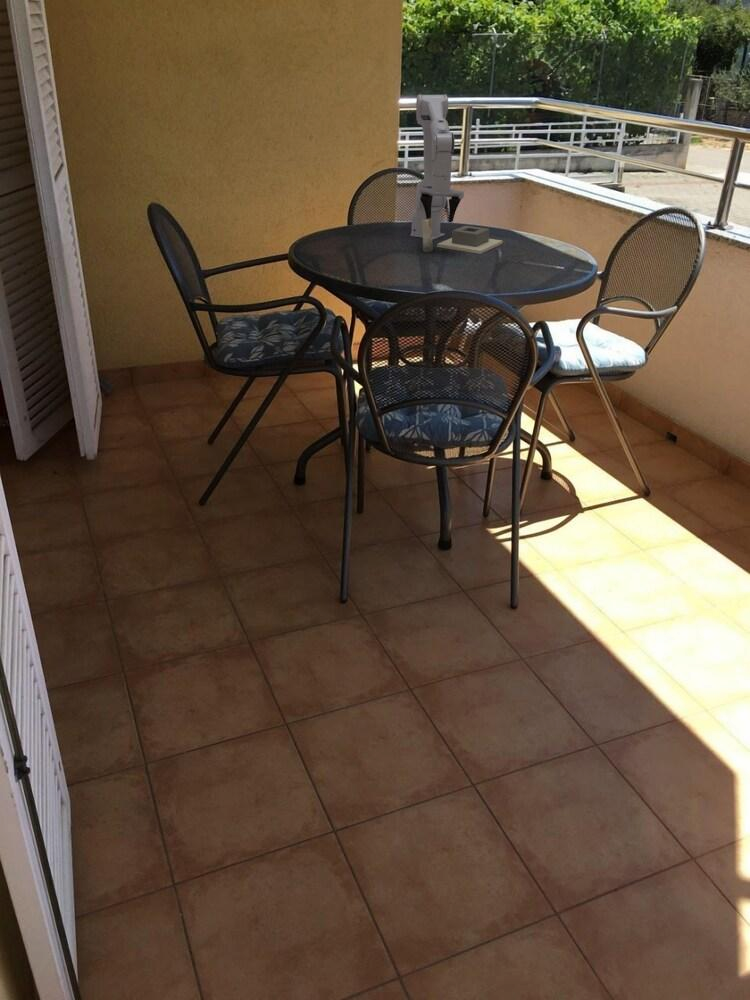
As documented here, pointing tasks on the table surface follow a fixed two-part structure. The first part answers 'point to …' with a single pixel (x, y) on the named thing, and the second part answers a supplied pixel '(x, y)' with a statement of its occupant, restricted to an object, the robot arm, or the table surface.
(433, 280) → the table surface
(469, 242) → the socket block on plate
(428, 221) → the steel pin
